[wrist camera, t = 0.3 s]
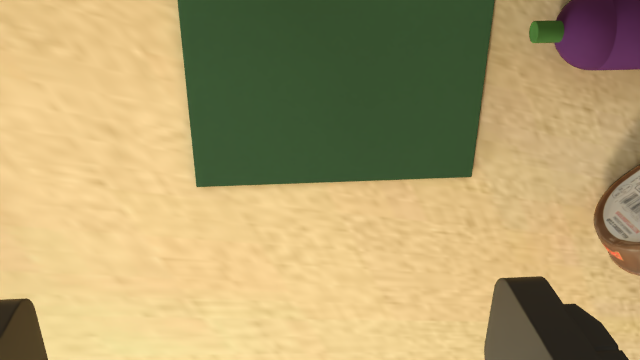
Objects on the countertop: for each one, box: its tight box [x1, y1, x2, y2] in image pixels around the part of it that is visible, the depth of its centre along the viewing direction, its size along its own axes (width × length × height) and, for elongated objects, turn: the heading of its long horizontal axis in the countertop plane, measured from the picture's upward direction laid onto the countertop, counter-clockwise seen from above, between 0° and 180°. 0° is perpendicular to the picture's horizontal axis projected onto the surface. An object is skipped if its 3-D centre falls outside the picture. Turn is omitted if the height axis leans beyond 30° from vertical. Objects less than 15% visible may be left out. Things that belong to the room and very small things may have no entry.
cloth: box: [178, 0, 495, 187], centre depth 36 cm, size 16×18×1 cm
